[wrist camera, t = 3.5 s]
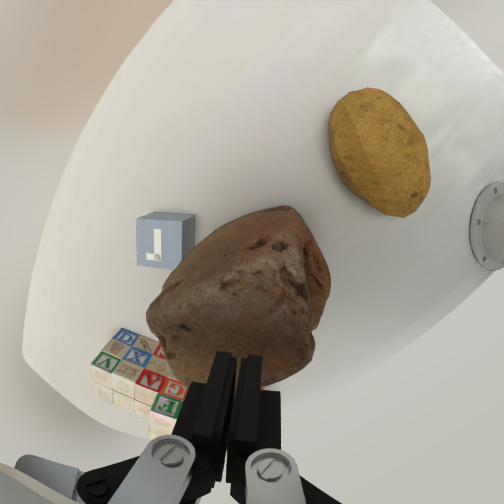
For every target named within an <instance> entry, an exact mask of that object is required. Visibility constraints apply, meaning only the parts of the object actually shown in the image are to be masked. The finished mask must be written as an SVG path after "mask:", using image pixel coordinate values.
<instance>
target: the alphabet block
mask: <svg viewBox="0 0 504 504" xmlns="http://www.w3.org/2000/svg"><path fill="white" fill-rule="evenodd" d="M194 231H195V215H194V214H179V213H163V212H153V213H150V214H148V215H145V216H142V217H139V218H137V219H136V235H137V266H145V267H154V268H162V269H171V270H175V269H176V267H177V266H178V264H179V263H180V262H181V261H182V260H183V259H184V258H185V257H186V256H187V255H188V254H189V253H190V252H191V251H192V250H193V249H194Z"/></svg>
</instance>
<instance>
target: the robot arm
mask: <svg viewBox="0 0 504 504" xmlns="http://www.w3.org/2000/svg"><path fill="white" fill-rule="evenodd" d="M470 240H471V246H472V250H473V253H474V255H475V257H476V259H477V261H478V262H479V263H480V264H481V265H482V266H484V267H485V268H487V269H490V270H499V269H501V268H503V267H504V183H493V184H491V185H489V186H488V187H486V188H485V189H484V190H483V191H482V193H481V194H480V196H479V197H478V200H477V202H476V204H475V207H474V210H473V213H472V218H471V226H470ZM262 357H263V356H260V355H250V354H248V357H247V358H241V364H240V369H239V375H238V381H237V387H236V393H235V383H236V367H237V357H233V356H232V352H224V351H217V352H216V355H215V358H214V361H213V364H212V367H211V371H210V374H209V377H208V380H207V384H206V383H200V382H194V381H192V382H191V384H190V386H189V388H188V391H187V394H186V396H185V399H184V402H183V404H182V407H181V410H180V412H179V415H178V418H177V420H176V423H175V426H174V428H173V431H172V434H171V435H163V436H158V437H156V438H155V439H153V440H152V441H151V442H150V443H149V444H148V445H147V447H146V448H145V450H144V451H143V452H142V454H141V455H140V456H138V457H135V458H131V459H128V460H125V461H122V462H119V463H116V464H112V465H109V466H105V467H102V468H98V469H94V470H91V471H88V472H82V471H80V470H79V469H78V468H74V467H70V466H67V465H63V464H59V463H56V462H53V461H50V460H46V459H43V458H40V457H37V456H34V455H24V456H22V457H20V458H19V459H18V461H17V462H16V465H15V467H14V468H12V467H10V466H7V465H4V464H2V463H0V504H199V502H200V499H201V497H202V496H204V495H206V494H208V493H210V492H211V488H214V485H215V481H219V482H221V480H222V473H223V468H224V463H225V457H226V452H227V465H226V483H231V490H230V491H231V492H230V495H231V496H232V497H233V498H234V499H235V500H236V501H237V502H238V503H239V504H342V503H340V502H338V501H337V500H335V499H334V498H332V497H330V496H329V495H327V494H326V493H324V492H323V491H321V490H320V489H318V488H317V487H315V486H314V485H313V484H311V483H310V482H308V481H307V480H305V479H304V478H303V477H301V476H300V475H299V472H298V468H297V464H296V462H295V460H294V459H293V458H292V457H291V456H290V455H289V454H288V453H286V452H284V451H282V450H281V397H280V391H266V390H260V387H261V373H262Z"/></svg>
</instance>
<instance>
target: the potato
mask: <svg viewBox="0 0 504 504" xmlns="http://www.w3.org/2000/svg"><path fill="white" fill-rule="evenodd" d="M328 125H329V132H330V147H331V152H332V157H333V161H334V163H335V165H336V167H337V170H338V172H339V174H340V176H341V178H342V180H343V182H344V184H345V185H346V186H347V187H348V188H349V189H350V190H351V191H352V192H353V193H354V194H356V195H357V196H359V197H360V198H362V199H363V200H364V201H366V202H367V203H368V204H370V205H371V206H373V207H374V208H376V209H377V210H379V211H381V212H382V213H384V214H385V215H391V216H396V217H402V218H404V217H406V216H408V215H410V214H412V213H413V212H415V211H416V210H417V208H418V207H419V206H420V204H421V203H422V202H423V200H424V199H425V197H426V195H427V193H428V190H429V188H430V180H431V176H430V168H429V160H428V149H427V145H426V142H425V138H424V135H423V134H422V132H421V131H420V130H419V128H418V127H417V125H416V124H415V122H414V121H413V120H412V118H411V117H410V115H409V114H408V112H407V111H406V110H405V109H404V107H403V106H402V105H401V104H400V103H399V102H398V101H397V100H396V99H394V98H393V97H392V96H390V95H389V94H388V93H386V92H384V91H382V90H380V89H375V88H364V89H361V90H358V91H352V92H349V93H348V94H347V95H345V96H344V97H343V98H342V99H340V100H339V101H338V102H337V104H336V105H335V107H334V109H333V110H332V112H331V114H330V119H329V124H328Z"/></svg>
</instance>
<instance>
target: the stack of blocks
mask: <svg viewBox="0 0 504 504" xmlns="http://www.w3.org/2000/svg"><path fill="white" fill-rule="evenodd" d="M91 375H92V380H93V393H94V396H96V397H98V398H100V399H103V400H105V401H107V402H109V403H111V404H113V405H115V406H117V407H119V408H122V409H124V410H126V411H129V412H131V413H134V414H136V415H138V416H141V417H144V418H146V419H149V425H150V429H149V439H152V440H153V439H155V438H156V437H158V436H163V435H171V434H172V431H173V428H174V426H175V423H176V420H177V418H178V415H179V412H180V410H181V407H182V404H183V402H184V399H185V396H186V394H187V391H188V390H187V389H186V388H185V386H184V385H183V384H182V383H181V382H179V381H178V380H177V379H176V378H175V376H174V374H173V372H172V371H171V369H170V367H169V365H168V363H167V361H166V359H165V355H164V352H163V349H162V346H161V344H160V343H159V342H157V341H154V340H151V339H149V338H146V337H144V336H140V335H138V334H136V333H133V332H131V331H128V330H126V329H123V328H121V329H120V330H119V331H118V332H117V333H116V335H115V336H114V337H113V338H112V339H111V340H110V341H109V342H108V343H107V344H106V346H105V347H104V348H103V349H102V351H101V352H100V353H99V355H98V356H97V357H96V358H95V359H94V361H93V362H92V363H91ZM263 388H264V387H262V388H260V390H263ZM225 461H227V452H226V457H225Z"/></svg>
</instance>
